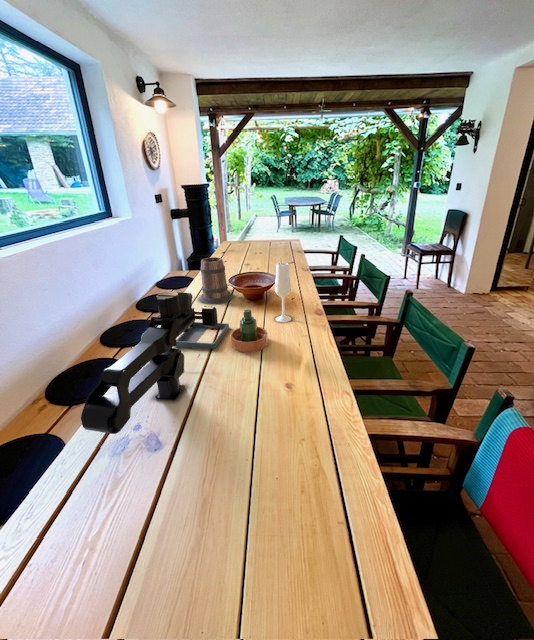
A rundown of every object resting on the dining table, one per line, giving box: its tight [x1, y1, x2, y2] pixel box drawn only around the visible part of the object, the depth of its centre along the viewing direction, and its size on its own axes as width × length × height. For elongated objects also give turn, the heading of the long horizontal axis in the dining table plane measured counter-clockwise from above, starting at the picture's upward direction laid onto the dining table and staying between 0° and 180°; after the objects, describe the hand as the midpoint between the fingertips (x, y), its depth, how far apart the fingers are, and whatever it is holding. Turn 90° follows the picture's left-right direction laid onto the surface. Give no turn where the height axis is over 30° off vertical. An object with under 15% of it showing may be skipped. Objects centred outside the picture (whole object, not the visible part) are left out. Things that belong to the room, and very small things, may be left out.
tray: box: [175, 321, 230, 350], centre depth 124 cm, size 17×15×2 cm
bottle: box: [239, 308, 258, 342], centre depth 115 cm, size 6×6×13 cm
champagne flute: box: [274, 262, 292, 323], centre depth 133 cm, size 7×7×24 cm
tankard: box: [199, 256, 233, 305], centre depth 163 cm, size 24×17×20 cm
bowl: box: [229, 325, 269, 353], centre depth 117 cm, size 13×13×4 cm
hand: (199, 306), depth 109 cm, fingers open, 9 cm apart
